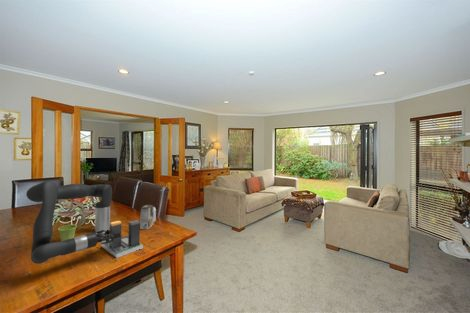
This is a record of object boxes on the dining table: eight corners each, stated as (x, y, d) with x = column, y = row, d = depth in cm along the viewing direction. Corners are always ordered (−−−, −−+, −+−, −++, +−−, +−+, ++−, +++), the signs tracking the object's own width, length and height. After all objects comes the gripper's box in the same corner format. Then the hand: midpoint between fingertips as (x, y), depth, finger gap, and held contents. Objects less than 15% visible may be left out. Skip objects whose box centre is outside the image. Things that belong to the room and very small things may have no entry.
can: (147, 220, 172) (147, 206, 172) (156, 220, 173) (157, 206, 172) (144, 223, 165) (144, 208, 164) (154, 223, 165) (154, 208, 165)
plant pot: (80, 239, 134) (80, 225, 133) (64, 245, 125) (64, 231, 124) (70, 236, 137) (70, 223, 136) (54, 242, 128) (54, 228, 128)
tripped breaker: (109, 246, 120) (109, 222, 119) (118, 243, 124) (118, 220, 123) (111, 248, 118) (112, 224, 117) (121, 245, 122) (121, 221, 121)
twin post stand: (101, 246, 124) (102, 220, 124) (127, 238, 136) (127, 214, 135) (116, 258, 112) (116, 228, 111) (142, 248, 124) (143, 221, 123)
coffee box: (145, 224, 162) (145, 204, 162) (153, 225, 162) (153, 204, 162) (139, 229, 153) (140, 207, 153) (148, 229, 153) (148, 208, 152)
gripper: (89, 238, 104) (122, 229, 117) (79, 231, 112) (111, 223, 125) (89, 253, 104) (122, 242, 117) (79, 244, 113) (111, 235, 126)
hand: (116, 232), depth 121 cm, fingers open, 8 cm apart
